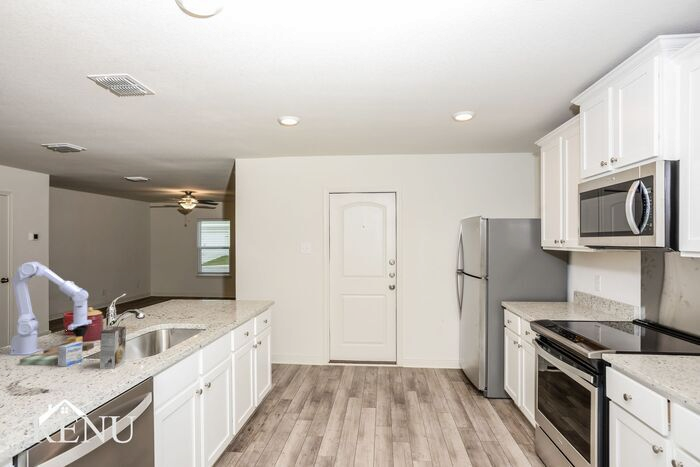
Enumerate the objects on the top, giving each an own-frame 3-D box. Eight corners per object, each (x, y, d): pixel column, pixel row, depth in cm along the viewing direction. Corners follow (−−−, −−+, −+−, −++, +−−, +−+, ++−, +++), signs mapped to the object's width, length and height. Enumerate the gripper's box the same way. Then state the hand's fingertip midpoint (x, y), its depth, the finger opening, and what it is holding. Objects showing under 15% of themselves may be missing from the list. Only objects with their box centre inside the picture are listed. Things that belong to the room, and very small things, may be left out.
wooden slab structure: (19, 365, 162) (19, 359, 162) (63, 347, 188) (63, 342, 188) (54, 365, 163) (54, 359, 163) (93, 347, 189) (93, 343, 189)
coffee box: (111, 361, 168) (111, 326, 168) (125, 361, 168) (126, 326, 168) (99, 368, 159) (99, 331, 159) (114, 368, 159) (115, 330, 159)
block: (66, 345, 183) (66, 338, 183) (73, 343, 188) (73, 336, 188) (75, 345, 183) (76, 338, 183) (82, 343, 188) (82, 336, 188)
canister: (79, 343, 196) (80, 310, 197) (71, 339, 204) (72, 307, 204) (107, 338, 207) (107, 306, 207) (98, 334, 214) (99, 304, 215)
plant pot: (69, 337, 209) (70, 315, 209) (58, 334, 216) (59, 313, 216) (94, 332, 220) (95, 312, 221) (83, 329, 227) (84, 309, 227)
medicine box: (65, 367, 161) (66, 347, 161) (57, 366, 161) (57, 346, 162) (82, 361, 168) (82, 342, 168) (74, 360, 169) (74, 341, 169)
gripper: (78, 317, 182) (77, 344, 182) (97, 311, 197) (97, 337, 197) (63, 317, 182) (63, 344, 182) (84, 311, 197) (83, 337, 196)
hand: (79, 340), depth 189 cm, fingers closed
